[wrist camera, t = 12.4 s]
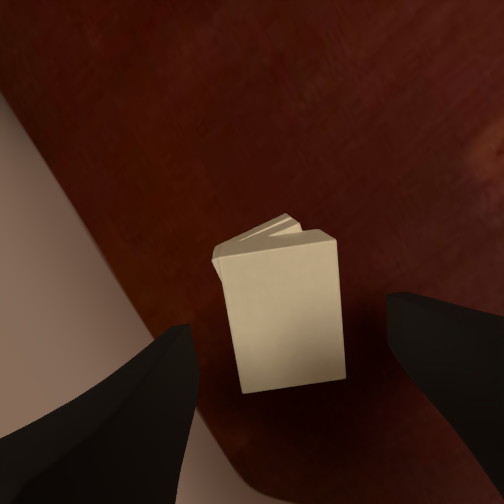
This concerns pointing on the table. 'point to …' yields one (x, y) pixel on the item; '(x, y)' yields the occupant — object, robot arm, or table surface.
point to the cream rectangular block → (284, 309)
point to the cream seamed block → (262, 233)
